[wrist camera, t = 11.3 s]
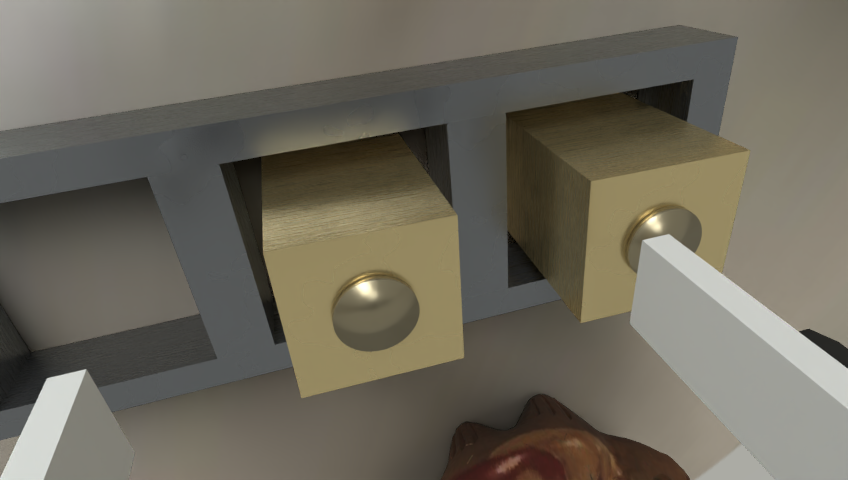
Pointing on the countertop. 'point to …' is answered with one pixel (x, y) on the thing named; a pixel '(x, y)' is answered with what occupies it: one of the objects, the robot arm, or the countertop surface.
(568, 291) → the beige framed knobbed block
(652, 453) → the decorative turtle
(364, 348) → the cube with silver knob
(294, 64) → the countertop surface
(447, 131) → the rack
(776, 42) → the countertop surface
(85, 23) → the countertop surface
